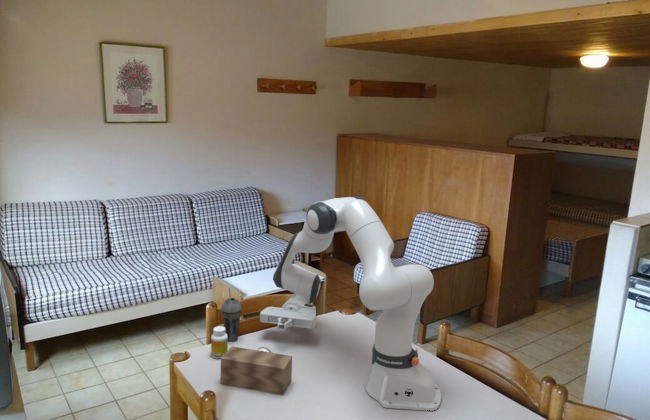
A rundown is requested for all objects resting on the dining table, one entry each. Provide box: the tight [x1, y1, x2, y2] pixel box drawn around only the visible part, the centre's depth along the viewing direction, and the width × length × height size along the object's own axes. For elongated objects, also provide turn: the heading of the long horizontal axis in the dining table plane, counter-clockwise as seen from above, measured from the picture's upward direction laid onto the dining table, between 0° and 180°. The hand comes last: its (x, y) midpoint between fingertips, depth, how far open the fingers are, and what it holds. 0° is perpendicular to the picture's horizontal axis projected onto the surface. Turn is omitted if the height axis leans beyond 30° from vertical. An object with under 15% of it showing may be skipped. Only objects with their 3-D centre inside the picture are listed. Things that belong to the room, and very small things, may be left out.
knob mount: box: [220, 345, 293, 396], centre depth 152 cm, size 20×8×8 cm, turn 76°
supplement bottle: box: [210, 325, 229, 360], centre depth 167 cm, size 5×5×10 cm
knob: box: [257, 346, 273, 353], centre depth 154 cm, size 5×9×5 cm, turn 166°
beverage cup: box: [221, 287, 243, 343], centre depth 178 cm, size 7×7×20 cm
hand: (281, 326), depth 171 cm, fingers closed
